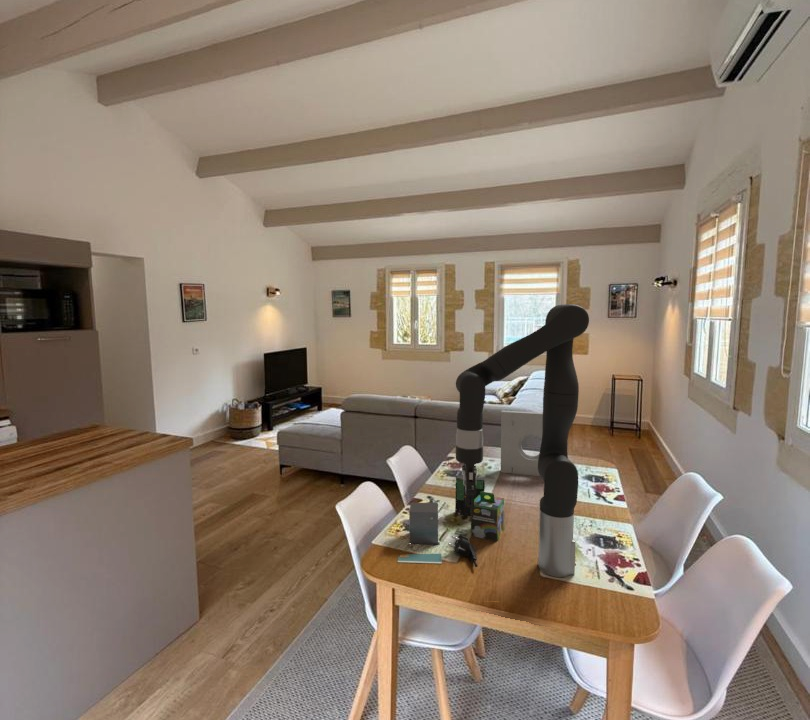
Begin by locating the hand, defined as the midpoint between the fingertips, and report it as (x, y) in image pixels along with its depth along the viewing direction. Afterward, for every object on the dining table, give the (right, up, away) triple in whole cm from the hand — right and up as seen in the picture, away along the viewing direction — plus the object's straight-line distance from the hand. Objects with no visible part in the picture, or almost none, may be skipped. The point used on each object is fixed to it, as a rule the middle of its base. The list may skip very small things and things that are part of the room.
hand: (468, 500), depth 122 cm
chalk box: (+10, -19, +23) cm, 32 cm away
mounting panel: (+38, -14, +71) cm, 82 cm away
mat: (-13, -20, +11) cm, 26 cm away
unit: (-12, -19, +20) cm, 30 cm away
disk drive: (+6, -18, +36) cm, 40 cm away
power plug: (0, -18, +2) cm, 18 cm away
